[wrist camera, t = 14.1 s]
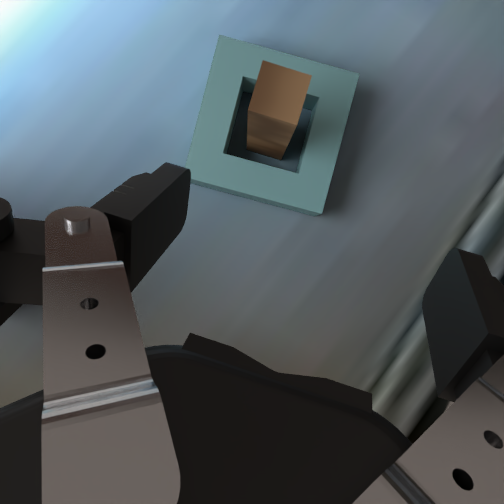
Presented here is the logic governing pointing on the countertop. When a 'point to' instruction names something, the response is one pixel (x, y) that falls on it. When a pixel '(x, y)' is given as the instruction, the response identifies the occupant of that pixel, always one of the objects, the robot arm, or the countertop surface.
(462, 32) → the countertop surface
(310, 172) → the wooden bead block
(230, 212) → the countertop surface
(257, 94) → the tall brown block
